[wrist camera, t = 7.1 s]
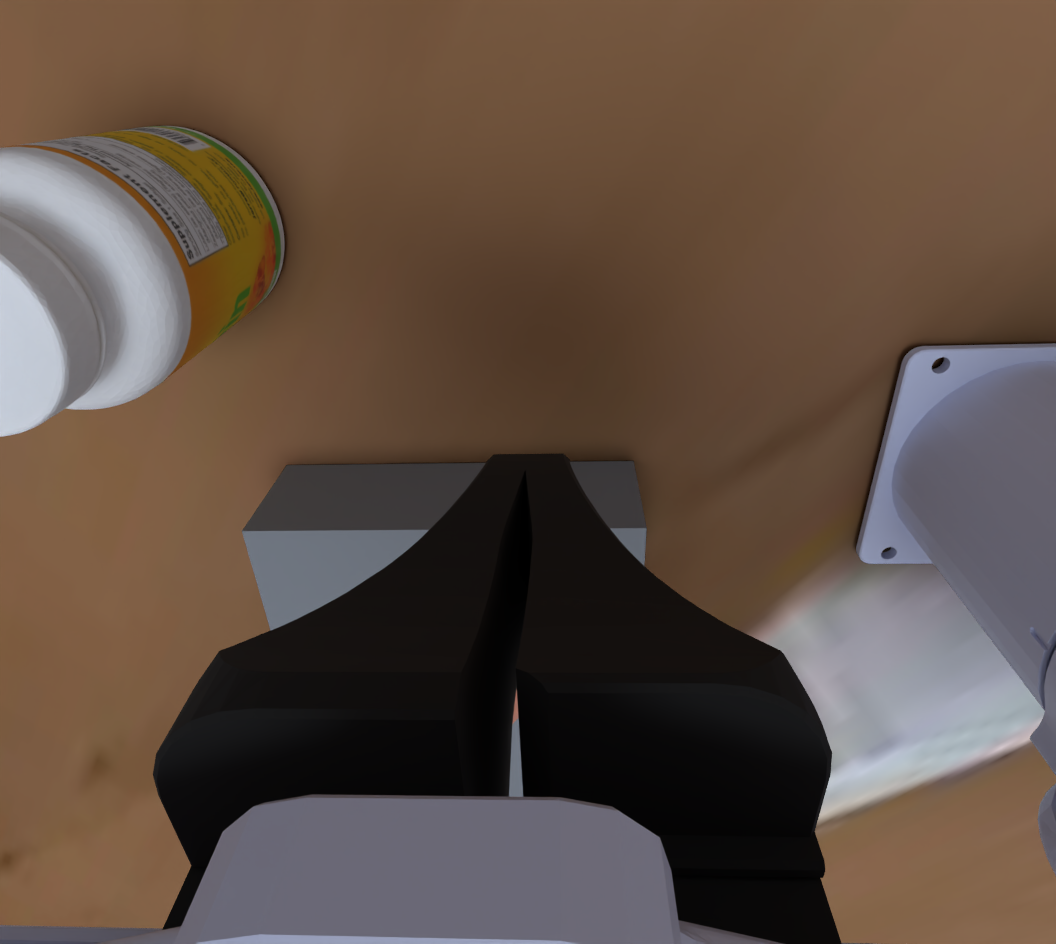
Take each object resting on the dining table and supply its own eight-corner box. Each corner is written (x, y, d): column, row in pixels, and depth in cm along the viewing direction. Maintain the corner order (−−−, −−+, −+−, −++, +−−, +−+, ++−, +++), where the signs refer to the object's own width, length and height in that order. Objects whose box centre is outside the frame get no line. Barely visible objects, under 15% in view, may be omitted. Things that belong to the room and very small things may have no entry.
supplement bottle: (201, 348, 22) (-14, 518, 14) (63, 199, 20) (-291, 292, 12) (327, 253, 21) (169, 380, 12) (190, 80, 19) (-113, 89, 10)
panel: (633, 460, 24) (646, 528, 20) (616, 822, 34) (623, 909, 30) (286, 465, 24) (242, 530, 21) (370, 819, 34) (350, 903, 31)
